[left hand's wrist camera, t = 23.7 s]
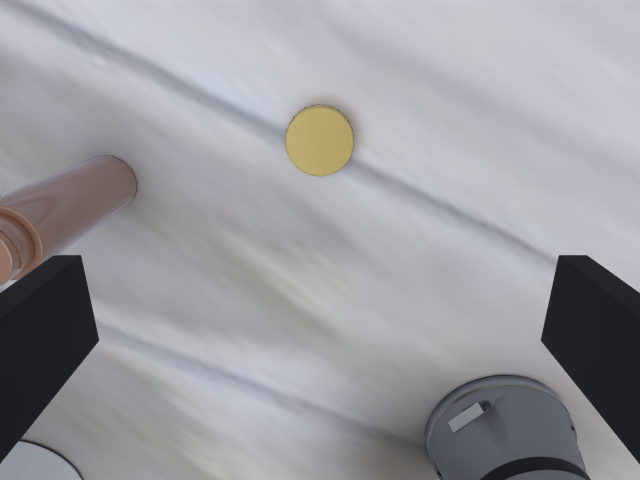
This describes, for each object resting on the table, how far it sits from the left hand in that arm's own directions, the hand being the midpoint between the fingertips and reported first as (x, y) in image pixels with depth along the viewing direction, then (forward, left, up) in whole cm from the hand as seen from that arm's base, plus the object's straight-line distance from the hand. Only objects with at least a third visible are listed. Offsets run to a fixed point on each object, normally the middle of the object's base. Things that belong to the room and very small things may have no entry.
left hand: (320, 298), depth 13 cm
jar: (-9, +16, -27) cm, 32 cm away
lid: (0, 0, -25) cm, 25 cm away
